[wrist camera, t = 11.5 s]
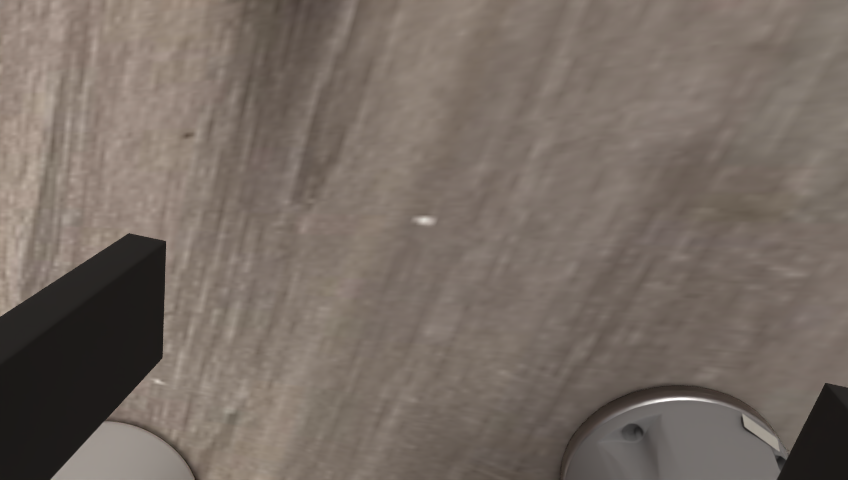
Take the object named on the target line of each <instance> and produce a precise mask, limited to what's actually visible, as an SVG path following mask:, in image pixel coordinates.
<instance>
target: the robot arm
mask: <svg viewBox="0 0 848 480" xmlns="http://www.w3.org/2000/svg"><path fill="white" fill-rule="evenodd" d="M165 260H166V241H162V240H158V239H153V238H148V237H144V236H139V235H134V234H130V233H129V234H127V235H126V236H124V237H123V238H121V239H119V240H118V241H116V242H115V243H113V244H112V245H110V246H109V247H107V248H106V249H104V250H103V251H101V252H99V253H98V254H96V255H95V256H93V257H92V258H90V259H89V260H87V261H86V262H84V263H82V264H81V265H79V266H78V267H76V268H75V269H73V270H72V271H70V272H69V273H67V274H66V275H64V276H62V277H61V278H59V279H58V280H56V281H55V282H53V283H52V284H50V285H49V286H47V287H45V288H44V289H42V290H41V291H39V292H38V293H36V294H35V295H33V296H32V297H30V298H29V299H27V300H25V301H24V302H22V303H21V304H19V305H18V306H16V307H15V308H13V309H12V310H10V311H8V312H7V313H5V314H4V315H2V316H1V317H0V480H51V479H52V477H53V476H54V475H55V474H56V473H57V472H58V471H59V470H60V469H61V468H62V467H63V466H64V464H65V463H66V462H67V461H68V460H69V459H70V458H71V457H72V456H73V455H74V454H75V452H76V451H77V450H78V449H79V448H80V447H81V446H82V445H83V444H84V443H85V442H86V441H87V439H88V438H89V437H90V436H91V435H92V434H93V433H94V432H95V431H96V430H97V429H98V427H99V426H100V425H101V424H102V423H103V422H104V421H105V420H106V419H107V418H108V417H109V416H110V414H111V413H112V412H113V411H114V410H115V409H116V408H117V407H118V406H119V405H120V404H121V402H122V401H123V400H124V399H125V398H126V397H127V396H128V395H129V394H130V393H131V392H132V391H133V389H134V388H135V387H136V386H137V385H138V384H139V383H140V382H141V381H142V380H143V379H144V377H145V376H146V375H147V374H148V373H149V372H150V371H151V370H152V369H153V368H154V367H155V366H156V364H157V363H158V362H159V361H160V360H161V359H162V356H163V324H164V292H165ZM561 480H848V388H846V387H842V386H837V385H833V384H828V383H825V385H824V387H823V389H822V391H821V393H820V395H819V397H818V399H817V401H816V403H815V405H814V407H813V409H812V411H811V413H810V415H809V417H808V419H807V421H806V423H805V424H804V426H803V428H802V430H801V432H800V434H799V436H798V438H797V440H796V442H795V444H794V446H793V448H792V450H791V452H790V454H789V455H788V453H787V451H786V449H785V447H784V446H783V444H782V443H781V441H780V440H779V438H778V436H777V435H776V433H775V432H774V430H773V429H772V427H771V426H770V425H769V424H768V422H767V421H766V420H765V419H764V418H763V417H762V416H761V415H760V414H759V413H758V412H757V411H755V410H754V409H752V408H751V407H750V406H748V405H747V404H745V403H743V402H742V401H740V400H738V399H736V398H734V397H732V396H729V395H727V394H724V393H721V392H718V391H714V390H711V389H706V388H701V387H693V386H661V387H655V388H649V389H645V390H640V391H637V392H634V393H631V394H628V395H625V396H623V397H620V398H618V399H616V400H614V401H612V402H610V403H608V404H607V405H605V406H604V407H602V408H600V409H599V410H598V411H596V412H595V413H594V414H593V415H591V416H590V417H589V418H588V419H587V420H586V421H585V422H584V423H583V424H582V425H581V426H580V427H579V429H578V430H577V431H576V433H575V434H574V435H573V437H572V438H571V440H570V442H569V444H568V446H567V448H566V451H565V453H564V457H563V461H562V466H561Z"/></svg>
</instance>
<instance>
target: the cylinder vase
mask: <svg viewBox="0 0 848 480" xmlns="http://www.w3.org/2000/svg"><path fill="white" fill-rule="evenodd" d="M51 480H195V478H194V476H193V474H192V472H191V470H190V468H189V467H188V465H187V463H186V462H185V461H184V459H183V458H182V457H181V456H180V455H179V453H178V452H177V451H176V450H175V449H173V448H172V447H171V446H170V445H169V444H168V443H166V442H165V441H164V440H162V439H161V438H159V437H158V436H156V435H154V434H152V433H150V432H148V431H146V430H144V429H142V428H139V427H136V426H133V425H130V424H125V423H120V422H111V421H104V422H103V423H102V424H101V425H100V426H99V427H98V429H97V430H96V431H95V432H94V433H93V434H92V435H91V436H90V437H89V438H88V439H87V441H86V442H85V443H84V444H83V445H82V446H81V447H80V448H79V449H78V450H77V451H76V452H75V454H74V455H73V456H72V457H71V458H70V459H69V460H68V461H67V462H66V463H65V464H64V466H63V467H62V468H61V469H60V470H59V471H58V472H57V473H56V474H55V475H54V476H53V477H52V479H51Z"/></svg>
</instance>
